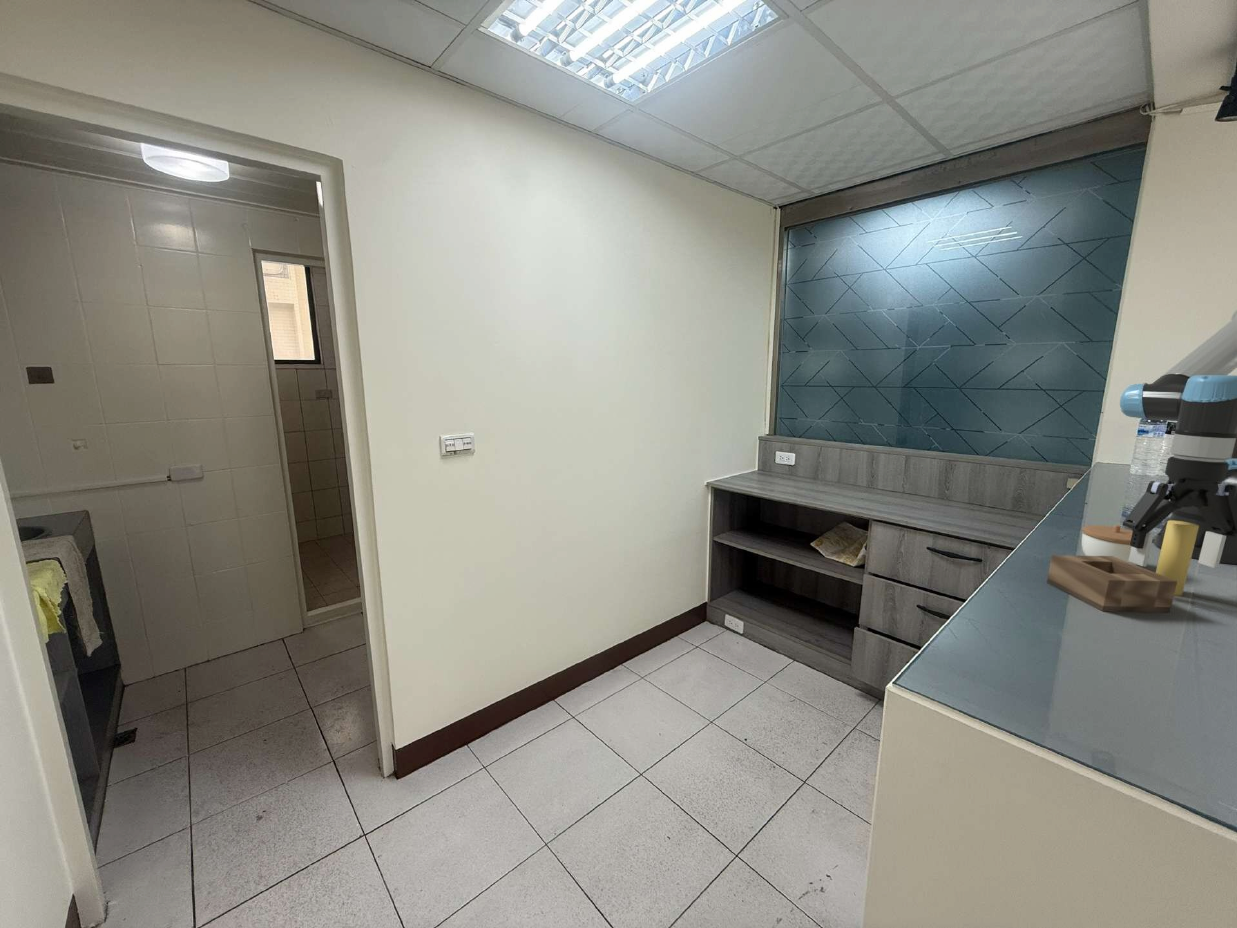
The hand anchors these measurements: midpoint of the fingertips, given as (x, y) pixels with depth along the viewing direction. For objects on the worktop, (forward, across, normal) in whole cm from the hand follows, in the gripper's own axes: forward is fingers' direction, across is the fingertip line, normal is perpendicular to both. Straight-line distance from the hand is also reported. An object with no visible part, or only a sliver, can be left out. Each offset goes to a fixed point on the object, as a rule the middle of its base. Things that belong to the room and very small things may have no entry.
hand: (1172, 564), depth 96 cm
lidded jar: (+6, -1, -13) cm, 14 cm away
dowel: (+6, 0, 0) cm, 6 cm away
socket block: (+6, +15, +3) cm, 16 cm away
